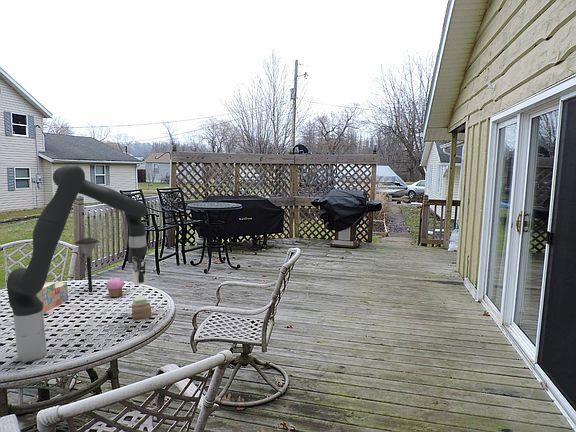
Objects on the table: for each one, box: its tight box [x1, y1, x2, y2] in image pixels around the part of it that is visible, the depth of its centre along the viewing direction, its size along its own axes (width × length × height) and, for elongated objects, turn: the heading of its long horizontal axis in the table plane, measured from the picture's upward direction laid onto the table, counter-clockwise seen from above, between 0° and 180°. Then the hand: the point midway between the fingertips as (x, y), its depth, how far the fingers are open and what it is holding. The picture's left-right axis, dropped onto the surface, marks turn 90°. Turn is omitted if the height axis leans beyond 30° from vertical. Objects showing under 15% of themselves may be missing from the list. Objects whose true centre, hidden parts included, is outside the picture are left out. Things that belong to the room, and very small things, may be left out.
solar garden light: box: [74, 237, 100, 293], centre depth 221 cm, size 12×12×30 cm
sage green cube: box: [132, 296, 147, 305], centre depth 197 cm, size 5×5×5 cm
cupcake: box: [105, 277, 125, 298], centre depth 214 cm, size 9×9×10 cm
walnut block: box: [131, 302, 152, 321], centre depth 187 cm, size 8×8×5 cm
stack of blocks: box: [36, 282, 69, 314], centre depth 198 cm, size 21×6×12 cm, turn 174°
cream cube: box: [131, 270, 148, 286], centre depth 185 cm, size 5×5×5 cm
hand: (139, 280), depth 185 cm, fingers closed on cream cube, 5 cm apart
